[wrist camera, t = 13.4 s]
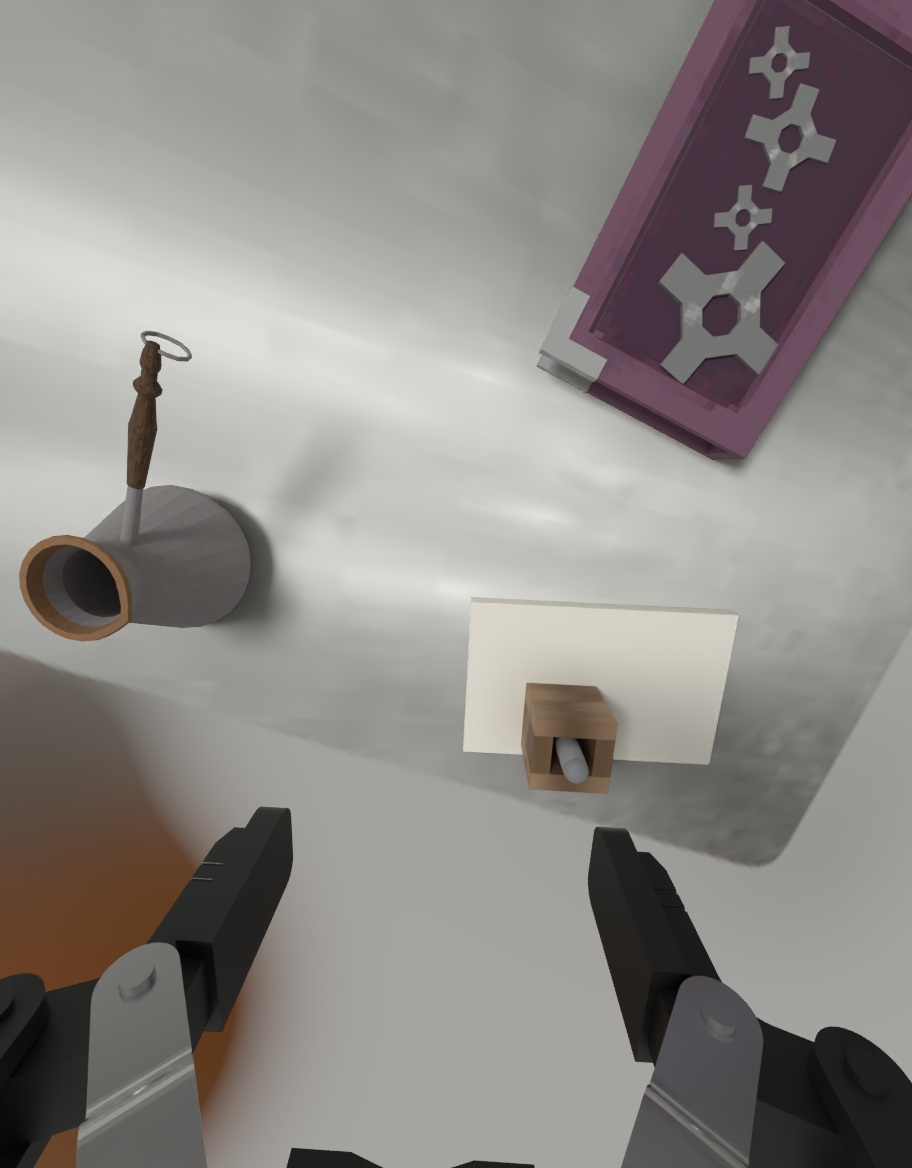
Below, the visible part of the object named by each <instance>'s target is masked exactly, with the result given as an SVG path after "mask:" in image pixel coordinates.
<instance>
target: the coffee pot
mask: <svg viewBox="0 0 912 1168" xmlns="http://www.w3.org/2000/svg"><path fill="white" fill-rule="evenodd" d="M147 335H150V336H157V337H160V338H163V339H166V340H168V341H170V342H172V343H174V344H176V345H178V346H180V347H181V348H182V349H183V350H184V351H186V352H187V354H188V356H187V357H177V356H174V355H171V354H169V353H166V352H164V351H162V350H160V345H159V344H158V343H156V342H153V341H147V340H146V338H145V336H147ZM141 339H142V340H143V342H144V343H145V347H144V348H143V351H142V354H141V358H140V365H141V368H142V370H141V376H140V377H138V378H137V379H135V380H134V381H133V386H134V388H135V390H136V391H137V392H138V395H137V398H136V402H135V405H134V408H133V412H132V415H131V418H130V421H129V423H128V457H127V485H128V489H127V495H126V500H125V501H124V502H123V503H122V504H120V505H119V506H118V507H117V508H116V509H115V510H114V511H113V512H112V513H111V514H109V515H108V516H107V517H106V518H105V519H104V520H103V521H102V522H101V523H100V524H99V525H98V526H96V527H95V528H94V529H93V530H92V531H91V532H90V533H89V534H88V535H87V536H86V537H85V538H81V537H75V536H70V535H62V536H53V537H50V538H47V539H45V540H42V541H40V542H39V543H38V544H36V545H35V546H34V547H33V548H32V549H30V550H29V552H28V553H27V555H26V556H25V558H24V560H23V561H22V565H21V569H20V574H19V575H20V589H21V592H22V595H23V598H24V601H25V603H26V605H27V606H28V608H29V610H30V611H31V613H32V614H33V615H34V616H35V618H36V619H37V620H38V621H39V622H40V623H41V624H42V625H43V626H45V627H46V628H48V629H49V630H51V631H52V632H53V633H55V634H58V635H60V636H62V637H65V638H67V639H72V640H77V641H92V640H99V639H102V638H104V637H107V636H110V635H111V634H113V633H115V632H117V631H118V630H120V629H121V628H123V627H124V626H125V625H127V624H128V623H138V624H148V625H159V626H169V627H179V628H187V627H200V626H204V625H207V624H210V623H213V622H215V621H218V620H220V619H221V618H223V617H224V616H225V615H227V614H228V613H229V612H231V611H232V610H233V609H234V608H235V606H236V605H237V604H238V602H239V601H240V600H241V598H242V597H243V596H244V593H245V590H246V588H247V585H248V582H249V578H250V566H251V557H250V552H249V547H248V542H247V540H246V538H245V536H244V534H243V532H242V529H241V527H240V526H239V525H238V523H237V522H236V521H235V520H234V518H233V517H232V516H231V515H230V513H229V512H228V511H227V510H226V509H224V508H223V507H222V506H220V505H219V504H218V503H217V502H215V501H214V500H213V499H212V498H210V497H208V496H206V495H204V494H201V493H199V492H197V491H195V490H193V489H189V488H184V487H178V486H173V485H167V486H156V487H150V488H148V489H145V490H143V488H144V487H145V483H146V479H147V474H148V470H149V465H150V460H151V456H152V451H153V446H154V442H155V437H156V433H157V422H156V399H155V398H156V397H158V396H160V395H161V394H162V388H161V386H160V385H159V383H158V382H157V376H158V372H159V371H160V370H161V355H163V356H165V357H168V358H170V359H173V360H176V361H189V360H190V359H191V358H192V354H191V353H190V351H189V349H188V348H187V347H185V346H184V345H183V344H182V343H181V342H179V341H177V340H175V339H173V338H171V337H169V336H167V335H164V334H161V333H158V332H153V331H145V332H143V333H141Z"/></svg>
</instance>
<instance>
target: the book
mask: <svg viewBox="0 0 912 1168" xmlns="http://www.w3.org/2000/svg"><path fill="white" fill-rule="evenodd" d="M911 194H912V0H714V2H713V4H712V6H711V8H710V10H709V12H708V14H707V17H706V19H705V21H704V23H703V25H702V27H701V29H700V31H699V33H698V35H697V37H696V39H695V41H694V43H693V45H692V47H691V49H690V51H689V53H688V55H687V57H686V59H685V61H684V63H683V65H682V67H681V69H680V71H679V73H678V75H677V77H676V79H675V82H674V84H673V86H672V88H671V90H670V92H669V94H668V96H667V98H666V100H665V102H664V104H663V106H662V108H661V110H660V112H659V114H658V116H657V118H656V120H655V122H654V124H653V126H652V128H651V130H650V132H649V134H648V136H647V138H646V140H645V142H644V144H643V147H642V149H641V151H640V153H639V155H638V157H637V159H636V161H635V163H634V165H633V167H632V169H631V171H630V173H629V175H628V177H627V179H626V181H625V183H624V185H623V187H622V189H621V191H620V193H619V195H618V197H617V199H616V201H615V203H614V205H613V207H612V209H611V212H610V214H609V216H608V218H607V220H606V222H605V224H604V226H603V228H602V230H601V232H600V234H599V236H598V238H597V240H596V242H595V244H594V246H593V248H592V250H591V252H590V254H589V256H588V258H587V260H586V262H585V264H584V266H583V268H582V270H581V272H580V274H579V276H578V279H577V281H576V283H575V285H574V287H573V286H572V287H571V289H570V290H569V292H568V294H567V296H566V298H565V300H564V302H563V304H562V306H561V309H560V311H559V313H558V315H557V317H556V319H555V321H554V323H553V325H552V327H551V329H550V331H549V333H548V335H547V337H546V339H545V341H544V343H543V345H542V347H541V349H540V351H539V353H540V354H542V356H541V358H540V360H539V362H538V364H537V367H539V368H541V369H543V370H545V371H546V372H548V373H550V374H552V375H554V376H556V377H558V378H560V379H561V380H563V381H565V382H567V383H569V384H571V385H573V386H574V387H576V388H578V389H580V390H582V391H584V392H587V393H589V394H591V395H593V396H595V397H597V398H599V399H600V400H602V401H604V402H606V403H608V404H610V405H612V406H614V407H615V408H617V409H619V410H621V411H623V412H625V413H627V414H628V415H630V416H632V417H634V418H636V419H638V420H640V421H641V422H643V423H645V424H647V425H649V426H651V427H653V428H655V429H656V430H658V431H660V432H662V433H664V434H666V435H668V436H669V437H671V438H673V439H675V440H677V441H679V442H681V443H682V444H684V445H686V446H688V447H690V448H692V449H694V450H696V451H697V452H699V453H701V454H703V455H705V456H707V457H709V458H710V459H712V460H718V459H739V458H746V457H747V455H748V454H749V452H750V450H751V449H752V447H753V446H754V444H755V442H756V441H757V439H758V438H759V436H760V434H761V433H762V431H763V430H764V428H765V426H766V425H767V423H768V422H769V420H770V419H771V417H772V415H773V414H774V412H775V411H776V409H777V407H778V406H779V404H780V403H781V401H782V399H783V398H784V396H785V395H786V393H787V391H788V390H789V388H790V387H791V385H792V383H793V382H794V380H795V379H796V377H797V375H798V374H799V372H800V371H801V369H802V367H803V366H804V364H805V363H806V361H807V360H808V358H809V356H810V355H811V353H812V352H813V350H814V348H815V347H816V345H817V344H818V342H819V340H820V339H821V337H822V336H823V334H824V332H825V331H826V329H827V328H828V326H829V324H830V323H831V321H832V320H833V318H834V316H835V315H836V313H837V312H838V310H839V309H840V307H841V305H842V304H843V302H844V301H845V299H846V297H847V296H848V294H849V293H850V291H851V289H852V288H853V286H854V285H855V283H856V281H857V280H858V278H859V277H860V275H861V273H862V272H863V270H864V269H865V267H866V265H867V264H868V262H869V261H870V259H871V258H872V256H873V254H874V253H875V251H876V250H877V248H878V246H879V245H880V243H881V242H882V240H883V238H884V237H885V235H886V234H887V232H888V230H889V229H890V227H891V226H892V224H893V222H894V221H895V219H896V218H897V216H898V214H899V213H900V211H901V210H902V208H903V207H904V205H905V203H906V202H907V200H908V199H909V197H910V195H911Z"/></svg>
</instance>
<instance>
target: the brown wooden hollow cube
mask: <svg viewBox="0 0 912 1168" xmlns="http://www.w3.org/2000/svg"><path fill="white" fill-rule="evenodd" d="M617 727H618V723H617V721H616V719H615V717H614V716H613V714H612V712H611V711H610V709H609V707H608V706H607V704H606V702H605V701H604V699H603V697H602V696H601V694H600V692H599V690H598V689H597V687H596V686H580V685H562V684H544V683H526V692H525V703H524V714H523V725H522V737H521V748H522V753H523V758H524V764H525V769H526V774H527V779H528V785H529V789H534V790H551V791H569V792H586V793H603V794H608V789H609V782H610V775H611V768H612V761H613V755H614V748H615V741H616V734H617ZM553 737H565V738H577V741H578V743H579V746H580V748H581V751H582V753H583V756H584V758H585V761H586V763H587V766H588V770H589V773H588V777H587V779H586V780H585V781H584V782H582V783H577V784H576V783H572V782H570V781H569V780H567V778H566V777H565V775H564V773H563V770H562V767H561V764H560V760H559V757H558V754H557V751H556V748H555V744H554V741H553Z"/></svg>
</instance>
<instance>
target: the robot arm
mask: <svg viewBox="0 0 912 1168" xmlns="http://www.w3.org/2000/svg"><path fill="white" fill-rule="evenodd" d="M292 862H293V846H292V826H291V812H290V809H288V808H275V807H259V808H258V809H257V810H256V812H255V813H254V815H253V816H252V818H251V819H250V821H249V823H248V824H247V826H246V827H245V828H235V827H234V828H233V829H232V830H231V831H229V832H228V833H227V834H226V835H225V836H223V837H222V838H221V839H220V840H218V841H217V842H216V843H215V844H214V846H213V847H212V849H211V850H210V852H209V853H208V855H207V856H206V858H205V859H204V861H203V864H202V865H200V866H199V868H198V869H197V871H196V872H195V874H194V875H193V878H192V880H191V881H189V883H188V884H187V885H186V887H185V888H184V890H183V891H182V893H181V894H180V896H179V897H178V899H177V900H176V902H175V903H174V904H173V906H172V907H171V909H170V910H169V912H168V913H167V915H166V917H165V918H164V919H163V921H162V922H161V924H160V925H159V927H158V928H157V929H156V931H155V932H154V934H153V935H152V937H151V938H150V940H149V941H148V942H147V944H146V945H143V946H140V947H138V948H135V949H134V950H132V951H130V952H128V953H127V954H125V955H123V956H122V957H121V958H120V959H118V960H117V961H116V962H114V963H113V964H112V965H111V966H110V967H109V968H108V969H107V970H106V972H105V973H104V974H103V975H102V977H100V978H97V979H94V980H91V981H87V982H83V983H79V984H75V985H72V986H68V987H64V988H60V989H56V990H52V991H48V992H46V990H45V985H44V982H43V980H42V979H41V978H40V977H39V976H38V975H35V974H30V973H23V974H16V975H12V976H9V977H6V978H3V979H1V980H0V1168H33V1167H34V1166H35V1164H36V1162H37V1160H38V1159H39V1157H40V1155H41V1154H42V1152H43V1150H44V1149H45V1147H46V1145H47V1143H48V1142H49V1140H50V1138H51V1137H52V1135H55V1134H58V1133H61V1132H64V1131H66V1130H69V1129H72V1128H75V1127H78V1126H80V1127H79V1133H78V1142H77V1159H76V1168H207V1163H206V1155H205V1147H204V1140H203V1132H202V1125H201V1117H200V1109H199V1101H198V1094H197V1087H196V1078H195V1071H194V1063H193V1057H192V1056H193V1053H194V1050H195V1049H196V1046H197V1044H198V1042H199V1040H200V1038H201V1035H202V1034H203V1032H204V1031H209V1032H222V1031H223V1029H224V1027H225V1024H226V1022H227V1020H228V1017H229V1015H230V1013H231V1011H232V1008H233V1006H234V1004H235V1002H236V999H237V997H238V995H239V993H240V990H241V988H242V986H243V983H244V981H245V979H246V976H247V974H248V972H249V970H250V967H251V965H252V963H253V961H254V958H255V956H256V954H257V952H258V949H259V947H260V945H261V943H262V940H263V938H264V936H265V934H266V931H267V929H268V927H269V924H270V922H271V920H272V918H273V915H274V913H275V911H276V908H277V906H278V904H279V902H280V899H281V897H282V895H283V893H284V890H285V888H286V886H287V883H288V881H289V877H290V874H291V869H292ZM588 889H589V897H590V902H591V906H592V909H593V913H594V917H595V920H596V924H597V927H598V931H599V934H600V938H601V941H602V945H603V949H604V952H605V956H606V959H607V963H608V966H609V970H610V973H611V977H612V980H613V984H614V987H615V991H616V995H617V998H618V1002H619V1005H620V1009H621V1012H622V1016H623V1019H624V1023H625V1027H626V1030H627V1033H628V1037H629V1041H630V1044H631V1048H632V1051H633V1055H634V1059H635V1061H636V1062H650V1063H653V1064H654V1067H655V1069H654V1072H653V1075H652V1079H651V1081H650V1084H649V1085H648V1086H647V1087H646V1090H645V1093H644V1096H643V1099H642V1102H641V1105H640V1108H639V1111H638V1115H637V1118H636V1121H635V1124H634V1127H633V1131H632V1134H631V1137H630V1140H629V1143H628V1147H627V1150H626V1153H625V1156H624V1159H623V1163H622V1166H621V1168H912V1083H911V1081H910V1080H909V1079H908V1077H907V1076H906V1075H905V1073H904V1072H903V1071H902V1070H901V1068H900V1067H899V1066H898V1065H897V1064H896V1063H895V1062H894V1061H893V1060H892V1059H891V1058H890V1057H889V1056H888V1055H887V1054H886V1053H884V1051H882V1050H881V1049H880V1048H879V1047H877V1046H876V1045H875V1044H873V1043H872V1042H870V1041H869V1040H867V1039H866V1038H864V1037H863V1036H861V1035H859V1034H857V1033H854V1032H853V1031H850V1030H847V1029H844V1028H840V1027H826V1028H823V1029H822V1030H820V1031H819V1032H818V1034H817V1036H816V1038H815V1042H812V1041H810V1040H807V1039H805V1038H802V1037H800V1036H797V1035H794V1034H792V1033H789V1032H787V1031H784V1030H782V1029H779V1028H777V1027H774V1026H772V1025H770V1024H768V1023H765V1022H764V1021H762V1020H760V1019H759V1018H757V1017H756V1016H755V1014H754V1013H753V1011H752V1010H751V1008H750V1007H749V1006H748V1004H747V1003H746V1002H745V1001H744V1000H743V999H742V998H741V997H740V996H739V995H738V994H737V993H736V992H735V991H733V990H732V989H731V988H730V987H728V986H727V985H725V984H723V983H722V981H721V980H720V978H719V976H718V974H717V972H716V970H715V968H714V966H713V964H712V962H711V960H710V958H709V956H708V954H707V952H706V950H705V948H704V946H703V944H702V942H701V940H700V938H699V936H698V934H697V931H696V929H695V927H694V926H693V923H692V921H691V919H690V917H689V915H688V913H687V912H685V908H684V905H683V903H682V901H681V899H680V897H679V895H677V894H676V889H675V887H674V885H673V883H672V881H671V879H670V877H669V875H668V873H667V871H666V870H665V868H664V867H663V866H662V865H661V864H660V863H659V862H658V861H657V860H656V859H655V858H654V857H653V856H652V855H651V854H650V853H648V852H637V850H636V848H635V846H634V843H633V841H632V839H631V837H630V834H629V832H628V831H627V830H626V829H625V828H609V827H596V828H595V830H594V836H593V843H592V851H591V858H590V865H589V873H588ZM287 1168H382V1167H380V1166H378V1165H376V1164H374V1163H372V1162H370V1161H368V1160H366V1159H364V1158H362V1157H360V1156H358V1155H356V1154H354V1153H352V1152H343V1151H329V1150H328V1151H327V1150H313V1149H300V1148H292V1149H291V1153H290V1157H289V1160H288V1164H287ZM453 1168H534V1165H531V1164H516V1163H502V1162H488V1161H471V1162H468V1163H465V1164H462V1165H459V1166H456V1167H453Z"/></svg>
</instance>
